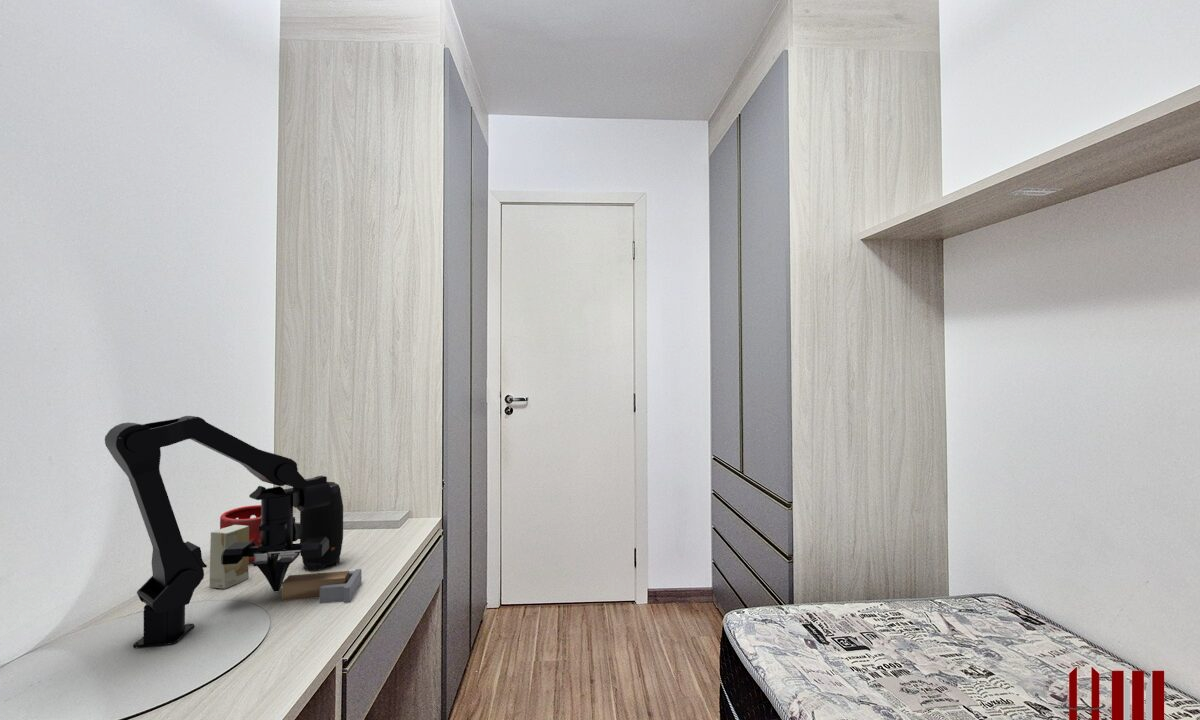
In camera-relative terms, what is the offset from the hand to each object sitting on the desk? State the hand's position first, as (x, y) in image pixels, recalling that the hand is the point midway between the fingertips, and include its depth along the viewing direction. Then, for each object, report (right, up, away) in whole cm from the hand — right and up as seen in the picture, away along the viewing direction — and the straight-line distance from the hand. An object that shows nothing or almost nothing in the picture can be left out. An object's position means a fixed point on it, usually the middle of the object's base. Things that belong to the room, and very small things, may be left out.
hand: (277, 590), depth 110 cm
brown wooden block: (+7, -2, +2) cm, 8 cm away
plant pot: (-21, -2, +23) cm, 31 cm away
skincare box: (-16, -2, +8) cm, 18 cm away
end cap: (+12, -2, +3) cm, 13 cm away
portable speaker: (0, -2, +18) cm, 18 cm away
